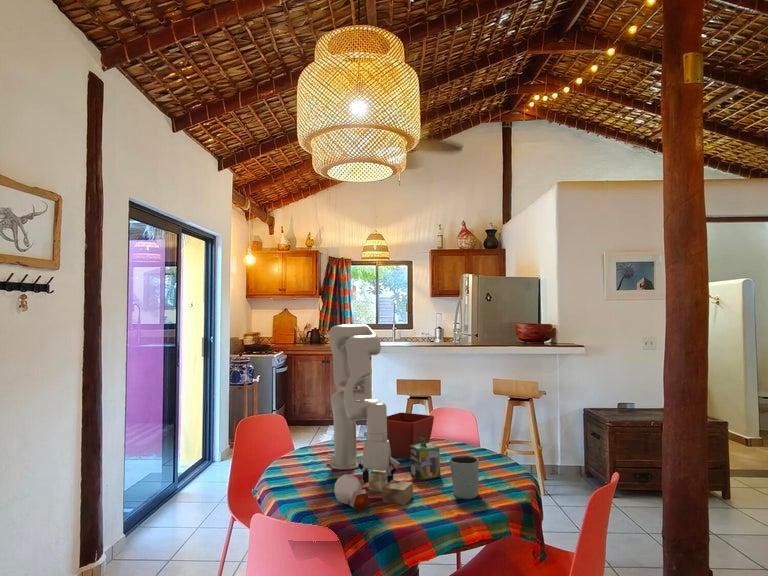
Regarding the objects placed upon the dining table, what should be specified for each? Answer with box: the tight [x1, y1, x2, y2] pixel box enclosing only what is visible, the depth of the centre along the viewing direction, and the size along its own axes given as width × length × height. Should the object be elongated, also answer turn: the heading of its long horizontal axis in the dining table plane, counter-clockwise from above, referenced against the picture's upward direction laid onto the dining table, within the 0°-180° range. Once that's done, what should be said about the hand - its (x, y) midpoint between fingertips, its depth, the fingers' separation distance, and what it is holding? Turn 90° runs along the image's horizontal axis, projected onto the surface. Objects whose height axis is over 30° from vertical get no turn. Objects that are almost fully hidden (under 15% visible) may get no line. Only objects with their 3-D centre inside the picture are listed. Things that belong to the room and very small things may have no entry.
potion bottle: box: [333, 473, 371, 513], centre depth 162 cm, size 9×10×15 cm
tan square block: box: [381, 479, 414, 506], centre depth 167 cm, size 8×8×5 cm
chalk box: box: [409, 437, 442, 481], centre depth 192 cm, size 9×9×15 cm
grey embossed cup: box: [449, 455, 480, 500], centre depth 170 cm, size 10×10×12 cm
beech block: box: [368, 469, 388, 492], centre depth 178 cm, size 5×5×6 cm
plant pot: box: [387, 412, 435, 460], centre depth 222 cm, size 19×19×17 cm
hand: (378, 484), depth 178 cm, fingers open, 9 cm apart
